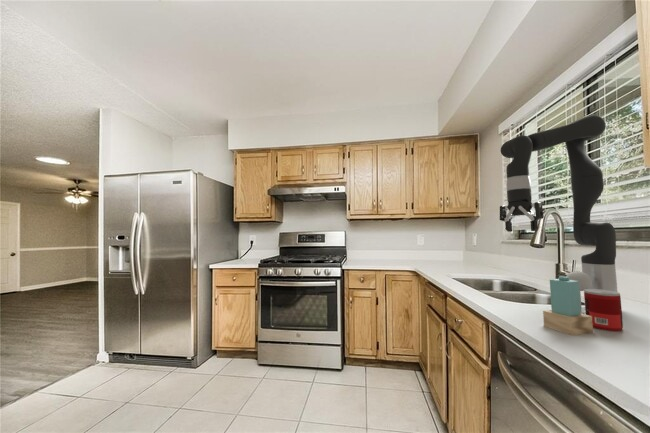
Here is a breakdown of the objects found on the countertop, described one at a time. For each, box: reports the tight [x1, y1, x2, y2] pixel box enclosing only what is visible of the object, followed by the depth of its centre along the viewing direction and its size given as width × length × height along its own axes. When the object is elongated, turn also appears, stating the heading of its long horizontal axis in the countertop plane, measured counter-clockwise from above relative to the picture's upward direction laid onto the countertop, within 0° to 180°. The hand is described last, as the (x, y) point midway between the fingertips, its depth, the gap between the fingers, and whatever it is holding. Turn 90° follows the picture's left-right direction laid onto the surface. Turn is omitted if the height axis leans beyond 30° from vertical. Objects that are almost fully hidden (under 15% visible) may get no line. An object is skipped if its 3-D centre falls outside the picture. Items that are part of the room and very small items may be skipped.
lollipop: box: [565, 270, 592, 314], centre depth 99 cm, size 7×7×15 cm
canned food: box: [583, 289, 624, 332], centre depth 84 cm, size 8×8×11 cm
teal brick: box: [549, 276, 582, 316], centre depth 83 cm, size 5×5×11 cm
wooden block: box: [542, 309, 594, 336], centre depth 82 cm, size 8×8×5 cm
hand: (521, 231), depth 102 cm, fingers open, 8 cm apart
